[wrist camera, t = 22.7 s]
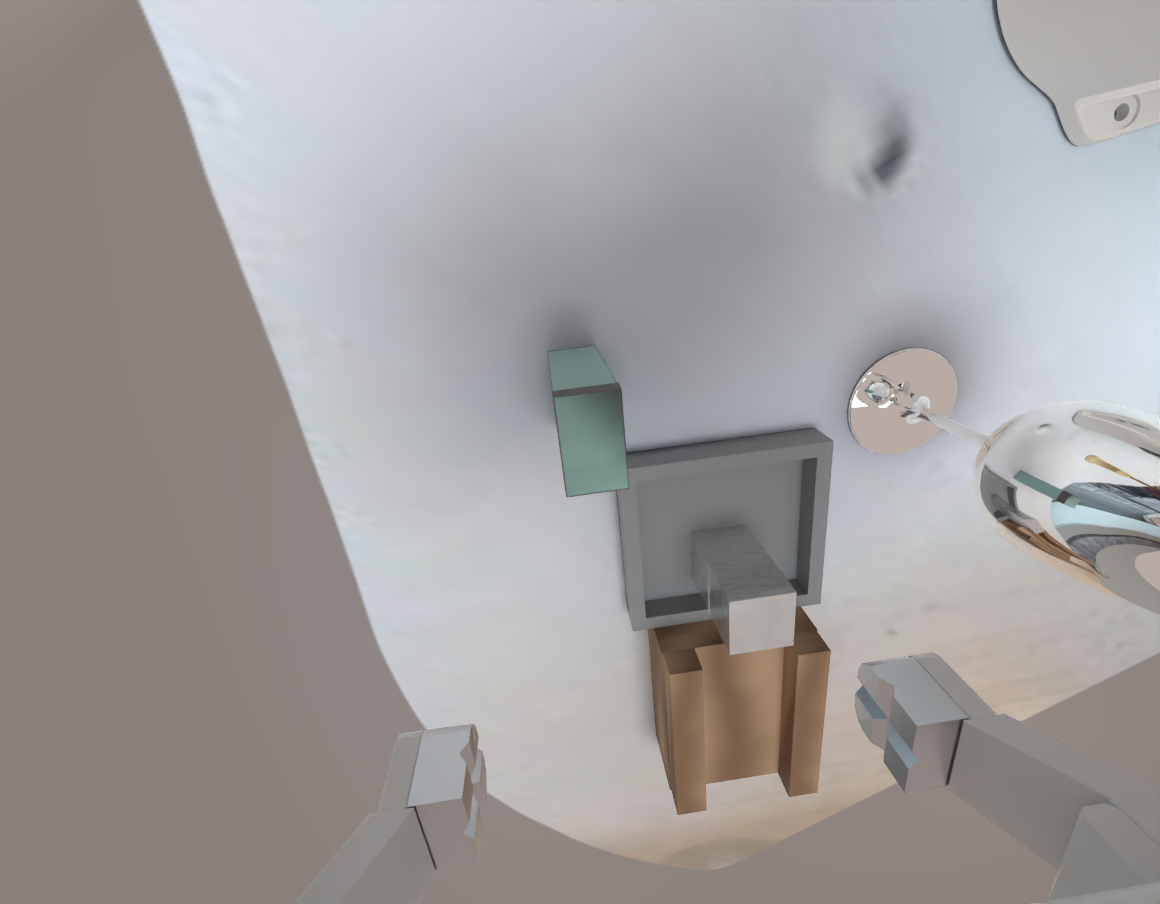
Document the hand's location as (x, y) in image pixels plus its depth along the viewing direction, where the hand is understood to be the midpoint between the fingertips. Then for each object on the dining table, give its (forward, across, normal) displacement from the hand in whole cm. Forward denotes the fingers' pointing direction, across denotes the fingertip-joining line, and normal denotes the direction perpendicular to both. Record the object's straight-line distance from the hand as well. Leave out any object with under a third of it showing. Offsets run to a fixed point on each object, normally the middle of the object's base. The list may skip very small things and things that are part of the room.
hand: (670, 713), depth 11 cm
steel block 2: (+20, -9, +13) cm, 26 cm away
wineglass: (+25, -22, +4) cm, 34 cm away
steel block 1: (+22, -9, +16) cm, 29 cm away
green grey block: (+25, 0, 0) cm, 25 cm away
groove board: (+25, -9, +25) cm, 37 cm away
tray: (+25, -9, +12) cm, 29 cm away
